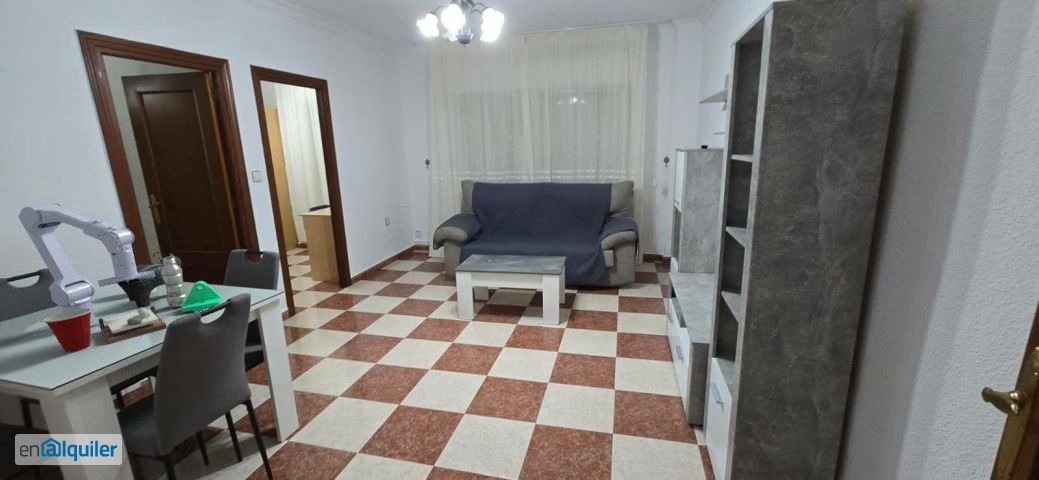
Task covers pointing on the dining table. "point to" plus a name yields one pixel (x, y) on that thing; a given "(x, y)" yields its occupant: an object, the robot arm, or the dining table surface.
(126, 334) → the walnut base
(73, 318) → the plastic cup
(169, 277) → the plastic bottle
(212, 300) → the green triangular piece
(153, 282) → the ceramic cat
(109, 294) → the dining table surface
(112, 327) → the instrument deck
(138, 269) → the jar
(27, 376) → the dining table surface
